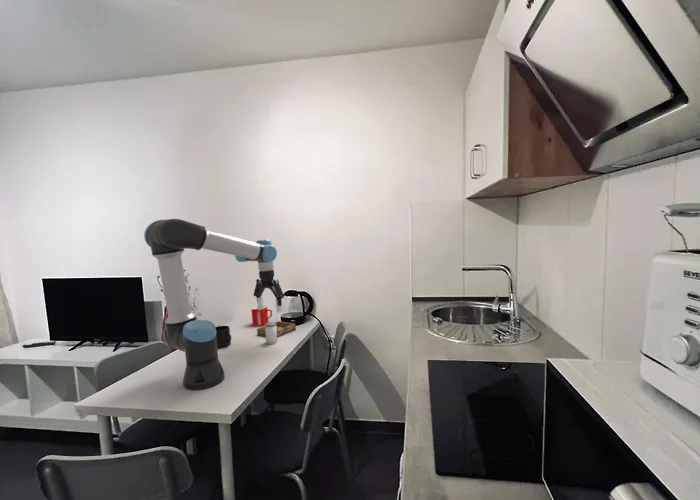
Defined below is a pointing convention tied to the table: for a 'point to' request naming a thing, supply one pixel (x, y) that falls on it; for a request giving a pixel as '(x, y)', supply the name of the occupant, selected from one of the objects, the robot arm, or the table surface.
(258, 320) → the mug
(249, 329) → the table surface
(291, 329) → the tray
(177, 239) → the robot arm
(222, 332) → the mug
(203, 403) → the table surface
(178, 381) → the table surface
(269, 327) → the shaker
